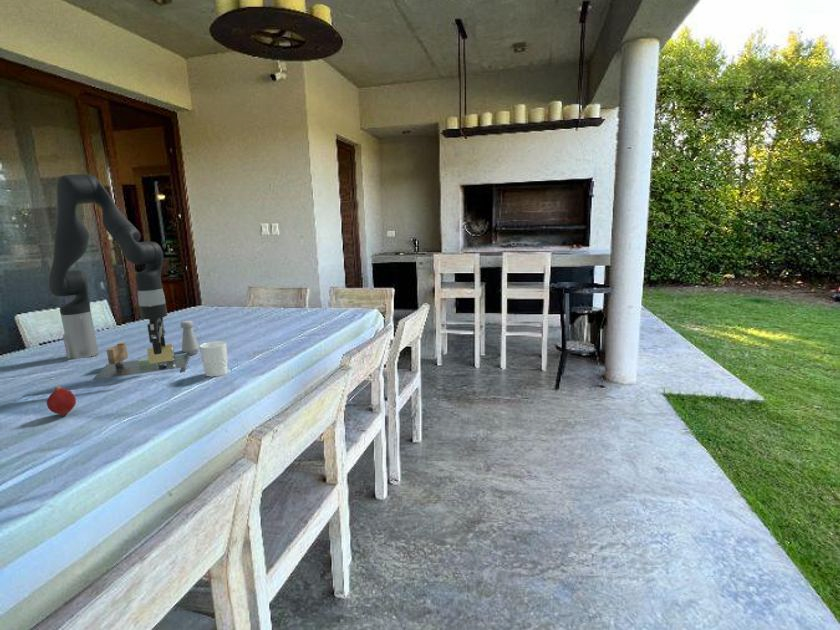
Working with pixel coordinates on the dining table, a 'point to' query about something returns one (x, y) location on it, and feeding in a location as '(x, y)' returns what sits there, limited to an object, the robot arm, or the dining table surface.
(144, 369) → the level plate
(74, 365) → the dining table surface
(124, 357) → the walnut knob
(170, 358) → the pale yellow sponge
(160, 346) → the robot arm
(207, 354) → the white cup
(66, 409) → the onion
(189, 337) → the salt shaker
